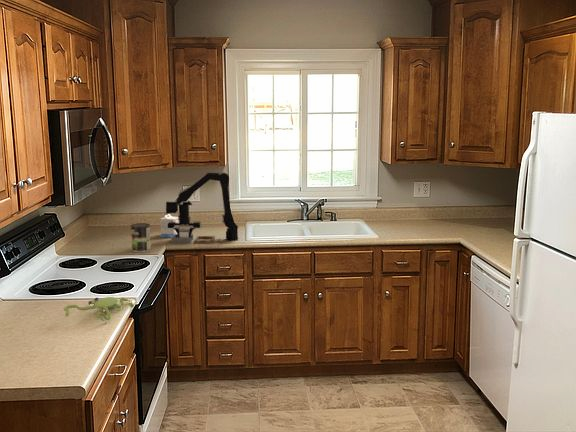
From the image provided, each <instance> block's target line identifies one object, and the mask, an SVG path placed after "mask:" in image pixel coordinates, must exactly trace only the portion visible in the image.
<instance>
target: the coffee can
mask: <svg viewBox="0 0 576 432" xmlns="http://www.w3.org/2000/svg"><path fill="white" fill-rule="evenodd" d="M130 231H131V235H130V237H131V251H132V252H134V253H145V251H147V252H150V251H151V250H152V249H151V248H152V247H151V223H146V222H141V223H140V222H137V223H132V224H131V225H130ZM149 250H150V251H149Z"/></svg>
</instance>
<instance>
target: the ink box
mask: <svg viewBox="0 0 576 432" xmlns="http://www.w3.org/2000/svg"><path fill="white" fill-rule="evenodd" d="M169 222H176V223H179V220H178V216H172V215H171V213H168V214H166V215H164V217H160V236H161V238H170V239H171V238H172V236H173V235H174V234H177V232H176V230H175V229H173V228H174V227H173V228H168V223H169Z"/></svg>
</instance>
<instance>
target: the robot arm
mask: <svg viewBox="0 0 576 432" xmlns="http://www.w3.org/2000/svg"><path fill="white" fill-rule="evenodd" d="M211 180H212V181H218V184H219V186H220V188H221V196H222V202H223V214H221V218H222V219H221V222H222V223H223V224H224V226H225V227H226V231H225V239H226V241H238V240H239V226H238V224H237V223H236V222H235V219H234V216H233V214H232V210H231V200H230V192H229V184H230V177H229V175H228V174H227V172H225V171H220V172H211V171H209V172H208V171H207V172H205V174H204V175H202V176H201V177H200V178H199V179H197V180H196V181H195V182H193V183H192V184H191V185H190V186H188V187H185V188H184V189H182V190H180V191H179V192H178V194H177V198H176V199H175V201H165V214H166V215H168V214H176V213H177V212H178V216H177V217H178V220H179V223H176V222H169V223H168V228H173V227H174V228H173V229H175V230H176V232H177V234H178V236H179V238H180V234H179V231H180V229H181V227H189V228H188V229H189V237H191V234H193V231H194V230H195V229H198V228H199V229H200V228H202V222H201V221H197V220H196V221H193V222H191V216H190V206H193V203H192V202H191V201H190V200H189V199H190V198H191V197H192V196H193V194H194V193H195V192H197V191H198V190H199V189H200V188H201V187H202V186H204V185H205V184H206V183H208V182H209V181H211Z"/></svg>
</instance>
